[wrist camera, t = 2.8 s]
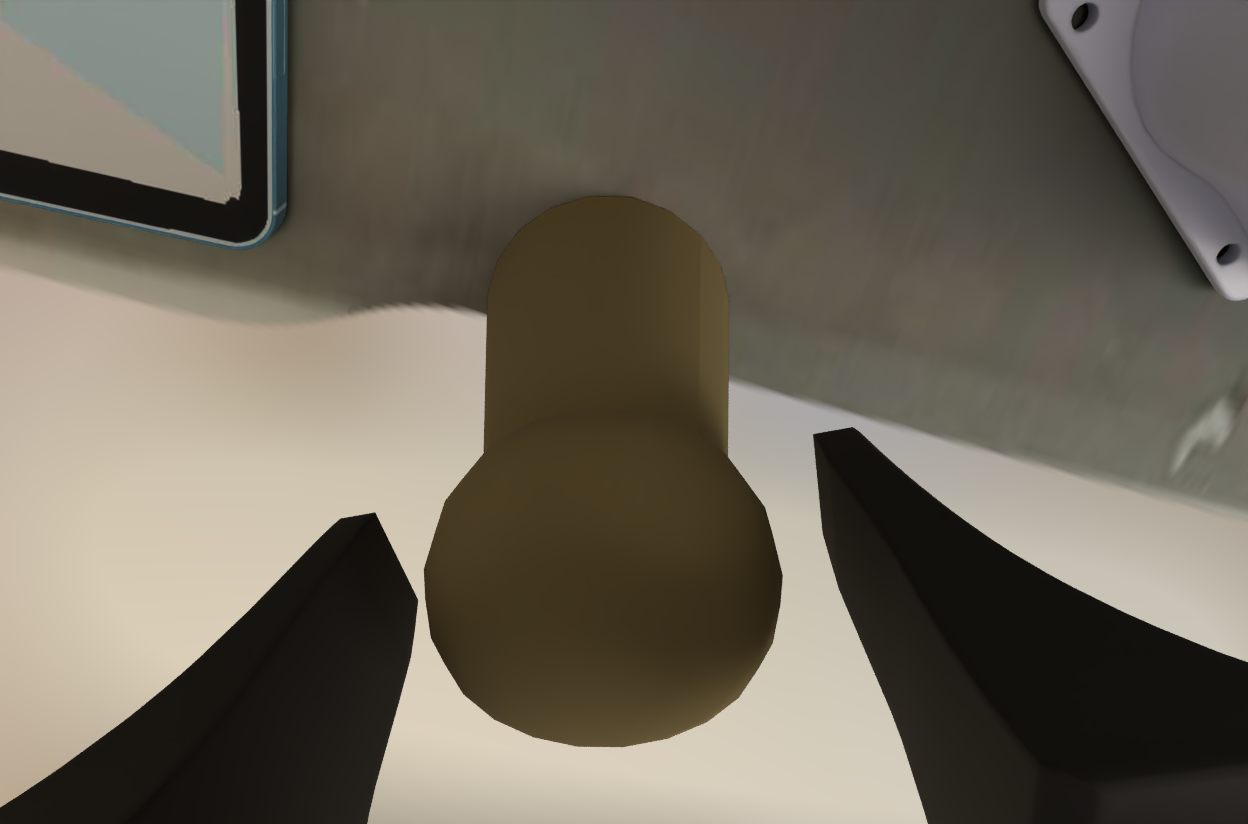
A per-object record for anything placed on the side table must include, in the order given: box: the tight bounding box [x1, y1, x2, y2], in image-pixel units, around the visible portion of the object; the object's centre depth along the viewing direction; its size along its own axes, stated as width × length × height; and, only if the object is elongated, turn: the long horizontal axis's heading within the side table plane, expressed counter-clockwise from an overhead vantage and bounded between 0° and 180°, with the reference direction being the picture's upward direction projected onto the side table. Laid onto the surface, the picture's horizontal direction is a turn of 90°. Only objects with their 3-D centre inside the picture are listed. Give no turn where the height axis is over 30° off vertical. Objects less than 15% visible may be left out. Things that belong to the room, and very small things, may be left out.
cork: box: [424, 196, 783, 747], centre depth 15 cm, size 6×6×11 cm
